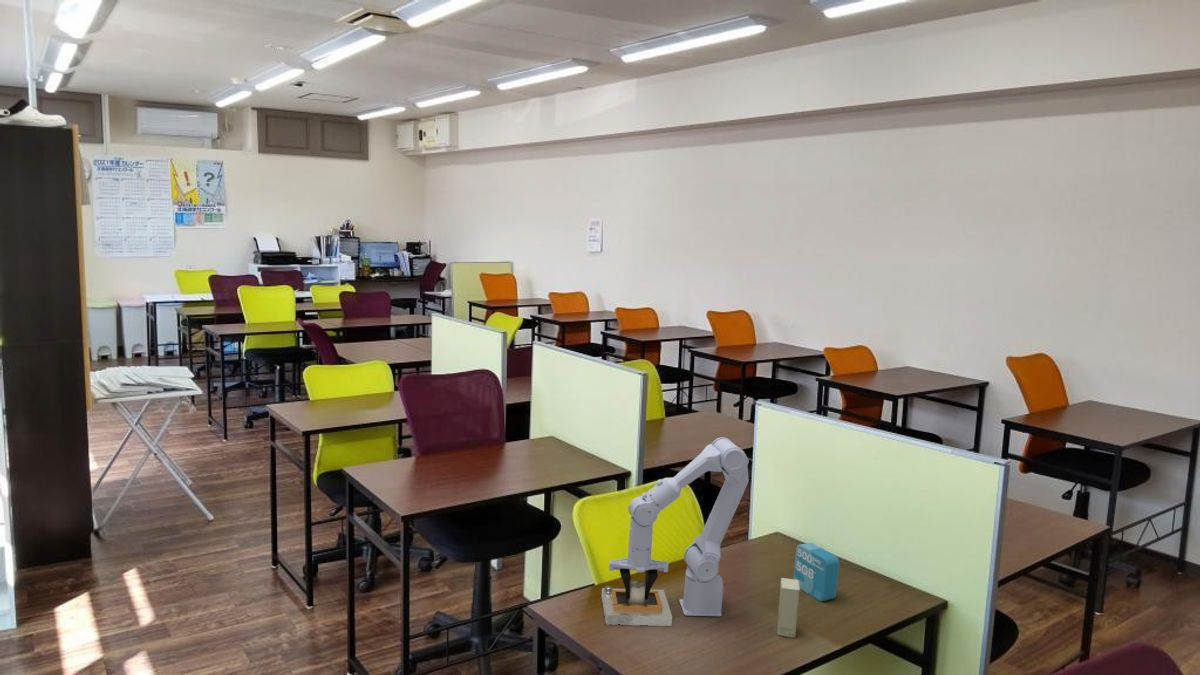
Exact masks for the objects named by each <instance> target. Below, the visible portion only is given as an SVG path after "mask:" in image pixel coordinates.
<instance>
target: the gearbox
mask: <svg viewBox="0 0 1200 675" xmlns="http://www.w3.org/2000/svg"><path fill="white" fill-rule="evenodd" d="M601 589H602V590H601V602H602V603H601V604H602V608H603V609H602V610H603V615H604V616H605V617H604V622H605V626H640V625H648V627H649V626H650V627H653V626H654V627H672V626H673V615H672V611H671V609H670V605H669V603H668V602H669V601H668V599H667V596H666V593H665V590H664V589H651V590H650V592H649V595H648V599H647V600H646V599H645V602H644V605H637V604H628V600H629V599H626V591H625V588H613V586H611V585H605V586H604V587H603V588H601ZM610 624H611V625H610ZM618 624H620V625H618ZM626 624H627V625H626Z"/></svg>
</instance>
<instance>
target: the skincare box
mask: <svg viewBox="0 0 1200 675" xmlns="http://www.w3.org/2000/svg"><path fill="white" fill-rule="evenodd" d="M779 585H780V587H779V599H778V613H777V624H776V625H777V628H776V629H777V630H776V631H777V632H776V633H777V636H782V637H787V638H797V637H796V635H797V622H798V612H799V597H800V590H801V589H800V587H799V580H794V579H793V578H785V577H780V584H779Z"/></svg>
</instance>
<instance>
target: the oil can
mask: <svg viewBox="0 0 1200 675" xmlns="http://www.w3.org/2000/svg"><path fill="white" fill-rule="evenodd" d="M645 588H646V585H645V582H641V581H630V597H629V600H628V604H637V605H644V602H645Z"/></svg>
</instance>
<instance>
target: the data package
mask: <svg viewBox="0 0 1200 675" xmlns="http://www.w3.org/2000/svg"><path fill="white" fill-rule="evenodd" d="M795 548H796V549H795V558H794V567H793V568H794V570H793V575H792V577H793V578H792V579H794V580H799V587H800V590H801V591H803V592H805V593H806V594H808V595H810V596H811V597H813V598H814V599H815V598H816V600H817V601H818V602H824V601H828V600H833V599H835V598H836V596H837V589H838V588H837V587H838V586H837V585H838V577H839V570H840V569H839V568H840V561H839V558H838V557H837V556H836V555H835V554H833V553H831V552H829V551H828V550H826V549H824V548H822V547H821V546H819V545H817V544H815V543H813V542H808V543H803V544H802V543H801V544H798V545H797V546H796V547H795Z"/></svg>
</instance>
